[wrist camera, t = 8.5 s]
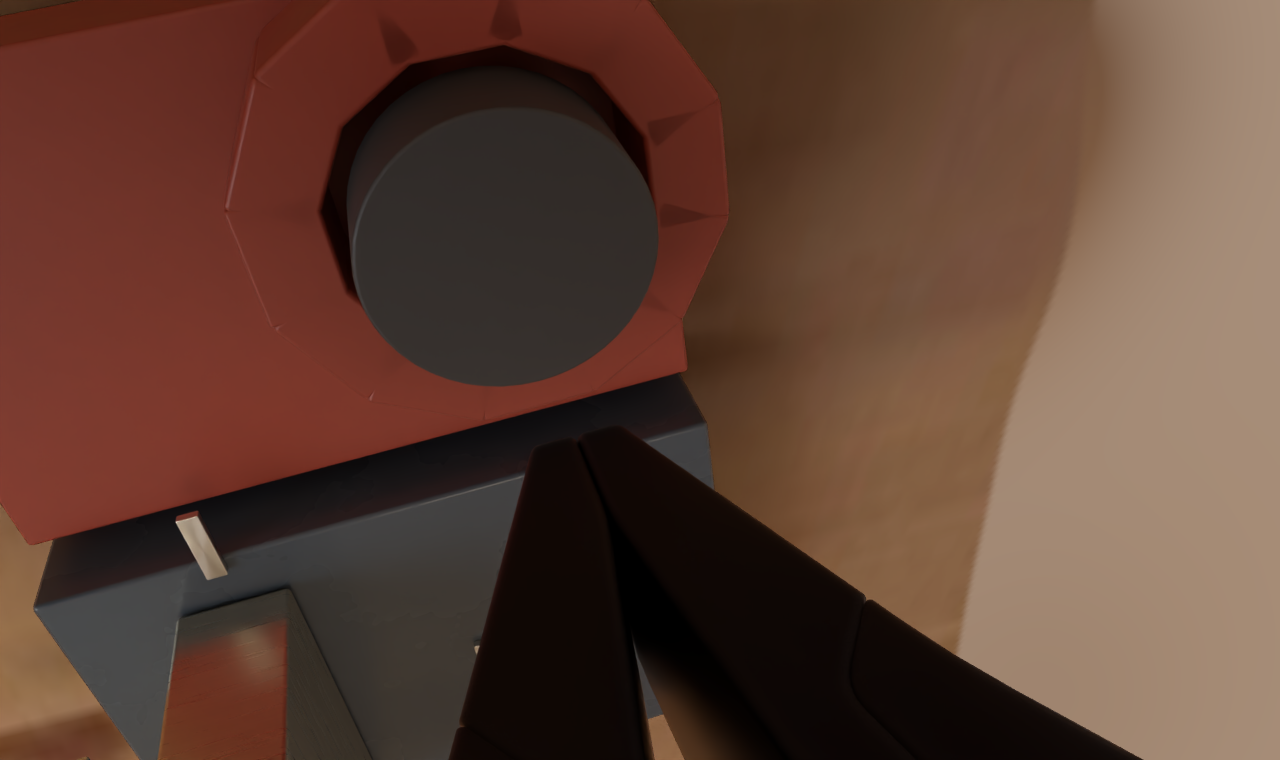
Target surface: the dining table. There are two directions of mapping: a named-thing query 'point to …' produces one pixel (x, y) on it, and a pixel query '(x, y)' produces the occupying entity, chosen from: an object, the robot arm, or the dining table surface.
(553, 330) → the button
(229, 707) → the tan and red box
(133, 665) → the dark grey panel
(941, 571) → the dining table surface
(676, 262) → the button box
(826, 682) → the robot arm
